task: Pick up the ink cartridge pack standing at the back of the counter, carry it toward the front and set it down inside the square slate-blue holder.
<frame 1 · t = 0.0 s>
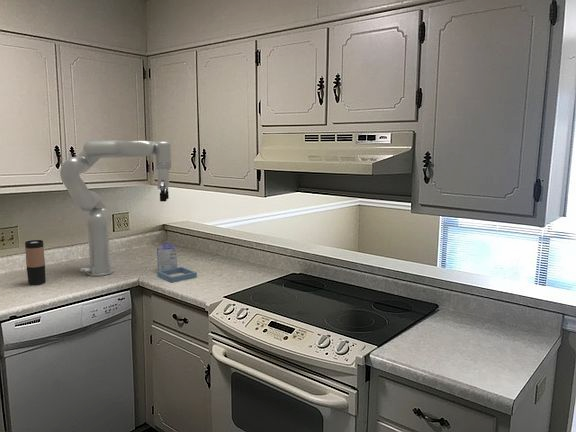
hand: (164, 200, 237), 37 cm above the counter, tool pointing down, fingers open, 9 cm apart
travel mug: (37, 283, 220), on the counter
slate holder: (177, 276, 233), on the counter
ink cartridge box: (167, 271, 244), on the counter
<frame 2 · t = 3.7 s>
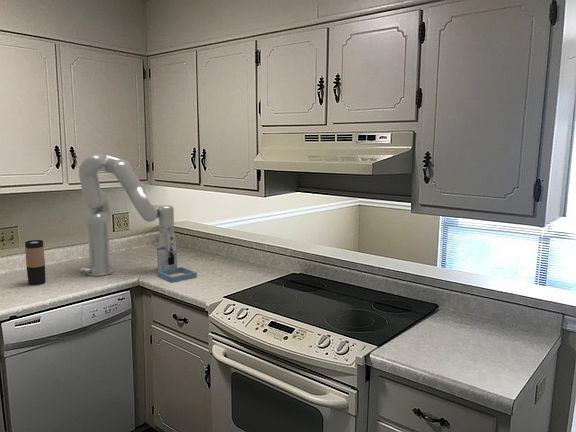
hand: (167, 262, 243), 4 cm above the counter, tool pointing down, fingers closed on ink cartridge box, 6 cm apart
ink cartridge box: (167, 271, 244), on the counter, touching gripper
everything else where it was.
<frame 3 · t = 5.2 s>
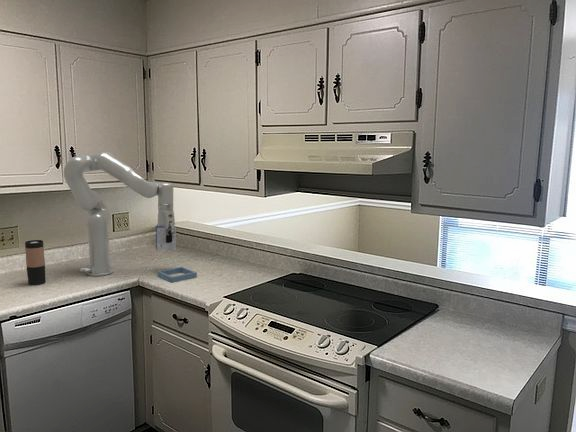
hand: (165, 240, 241), 16 cm above the counter, tool pointing down, fingers closed on ink cartridge box, 6 cm apart
ink cartridge box: (165, 249, 242), point 11 cm above the counter, touching gripper
everything else where it was.
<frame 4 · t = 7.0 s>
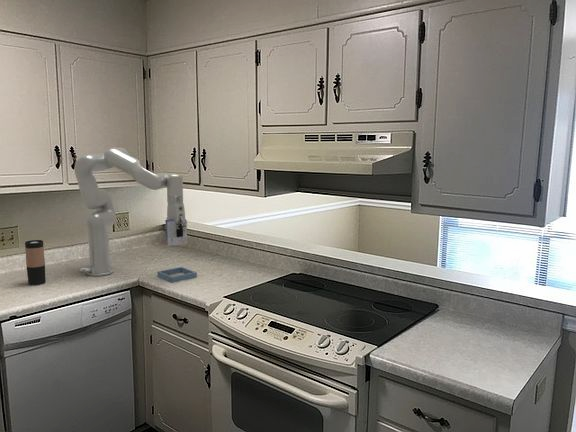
hand: (175, 235, 230), 21 cm above the counter, tool pointing down, fingers closed on ink cartridge box, 6 cm apart
ink cartridge box: (176, 244, 231), point 17 cm above the counter, touching gripper
everything else where it was.
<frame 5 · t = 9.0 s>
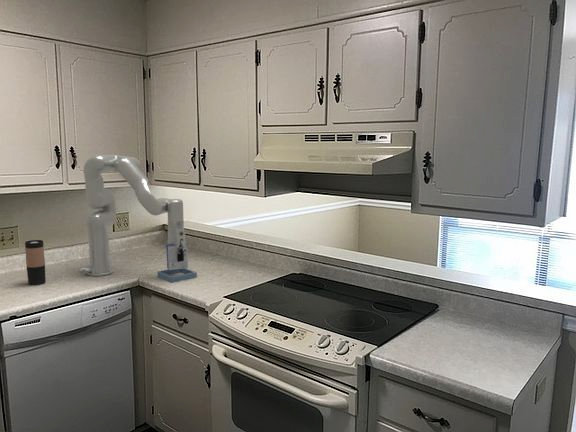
hand: (176, 259, 232), 9 cm above the counter, tool pointing down, fingers closed on ink cartridge box, 6 cm apart
ink cartridge box: (177, 268, 233), point 4 cm above the counter, touching gripper
everything else where it was.
when the fingers open (5 cm above the counter, at t = 10.7 s): ink cartridge box drops 1 cm, resting in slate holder.
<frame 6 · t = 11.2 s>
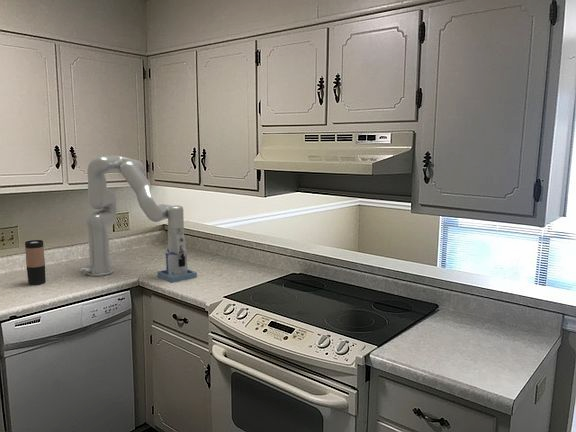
hand: (176, 264, 232), 6 cm above the counter, tool pointing down, fingers open, 9 cm apart
ink cartridge box: (177, 277, 234), resting in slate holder
everything else where it was.
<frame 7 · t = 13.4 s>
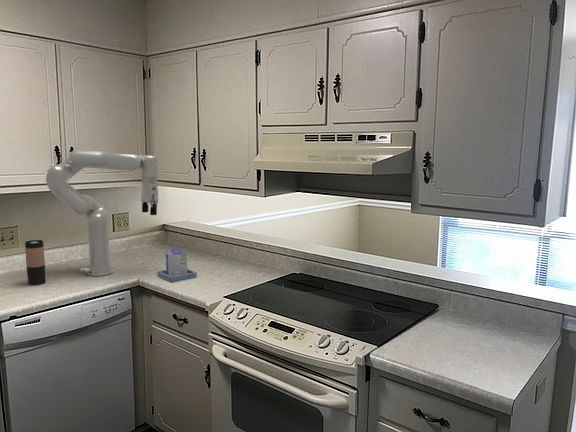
hand: (149, 213, 238), 30 cm above the counter, tool pointing down, fingers open, 9 cm apart
nothing on the counter moved.
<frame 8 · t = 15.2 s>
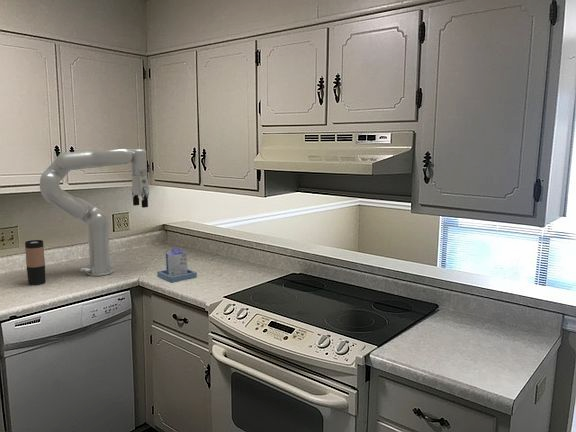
hand: (140, 206, 242), 33 cm above the counter, tool pointing down, fingers open, 9 cm apart
nothing on the counter moved.
at the end: ink cartridge box 0.2 cm off-centre on the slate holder, point 0.0 cm above the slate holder's base; ink cartridge box tilted 0°; the gripper is holding nothing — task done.
